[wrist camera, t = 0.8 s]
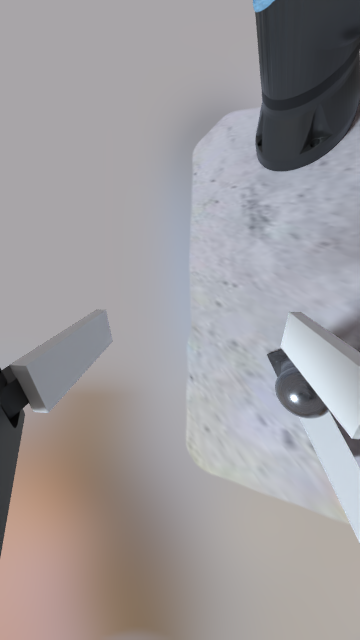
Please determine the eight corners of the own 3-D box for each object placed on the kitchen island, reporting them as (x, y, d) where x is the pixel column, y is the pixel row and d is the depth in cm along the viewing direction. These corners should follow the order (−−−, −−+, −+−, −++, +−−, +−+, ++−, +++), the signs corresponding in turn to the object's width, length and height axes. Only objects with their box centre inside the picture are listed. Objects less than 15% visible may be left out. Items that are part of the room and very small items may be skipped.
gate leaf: (287, 375, 28) (295, 409, 13) (301, 372, 27) (325, 403, 13) (332, 466, 24) (410, 648, 10) (350, 465, 23) (463, 662, 9)
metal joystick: (267, 354, 31) (246, 369, 12) (298, 344, 29) (329, 343, 10) (280, 382, 29) (281, 449, 11) (314, 374, 27) (386, 438, 9)
